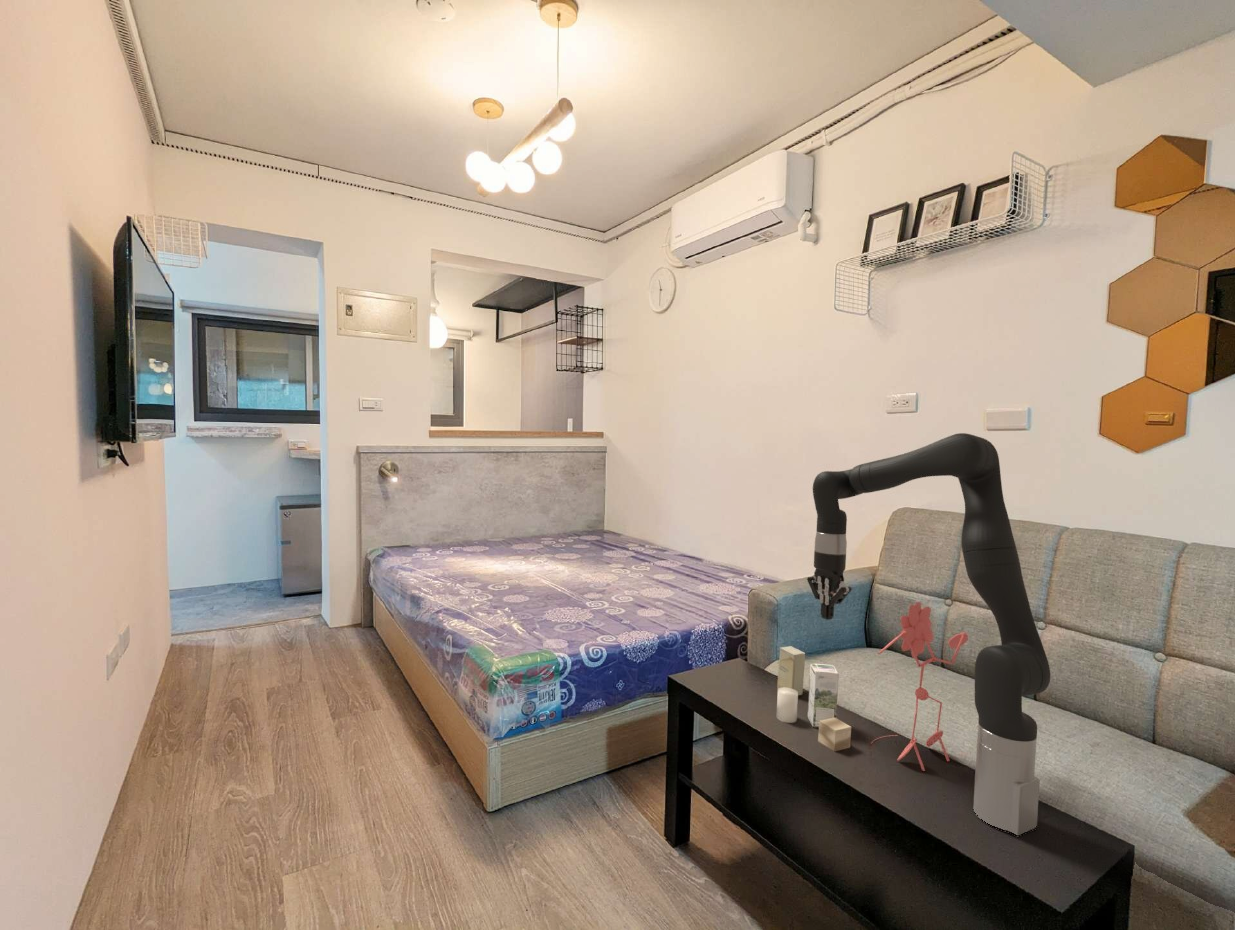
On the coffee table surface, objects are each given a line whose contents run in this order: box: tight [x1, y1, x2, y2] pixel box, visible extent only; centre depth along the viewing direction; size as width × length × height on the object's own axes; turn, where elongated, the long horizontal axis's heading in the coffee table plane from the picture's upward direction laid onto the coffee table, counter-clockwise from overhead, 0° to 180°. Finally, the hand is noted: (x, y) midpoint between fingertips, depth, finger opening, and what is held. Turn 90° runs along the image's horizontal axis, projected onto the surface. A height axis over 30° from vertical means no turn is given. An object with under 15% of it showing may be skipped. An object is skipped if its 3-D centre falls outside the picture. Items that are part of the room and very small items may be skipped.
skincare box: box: [776, 645, 806, 696], centre depth 165 cm, size 6×4×12 cm
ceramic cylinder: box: [776, 687, 799, 724], centre depth 148 cm, size 5×5×7 cm
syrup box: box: [806, 662, 840, 729], centre depth 146 cm, size 6×6×14 cm
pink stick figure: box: [869, 601, 969, 772], centre depth 134 cm, size 15×26×35 cm, turn 119°
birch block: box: [817, 717, 852, 752], centre depth 136 cm, size 5×5×5 cm
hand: (826, 618), depth 145 cm, fingers closed
